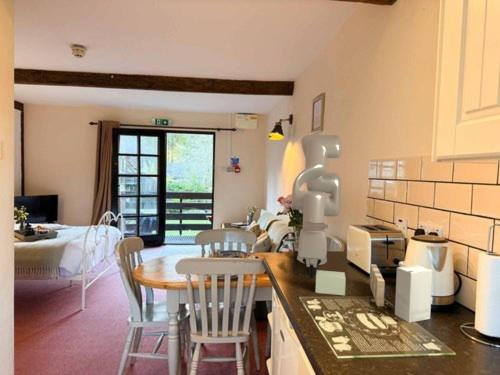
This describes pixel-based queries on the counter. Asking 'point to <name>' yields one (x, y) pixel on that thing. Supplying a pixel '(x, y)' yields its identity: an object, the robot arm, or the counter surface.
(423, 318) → the skincare box
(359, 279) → the counter surface
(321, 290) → the sage block
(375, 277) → the birch board
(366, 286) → the counter surface
